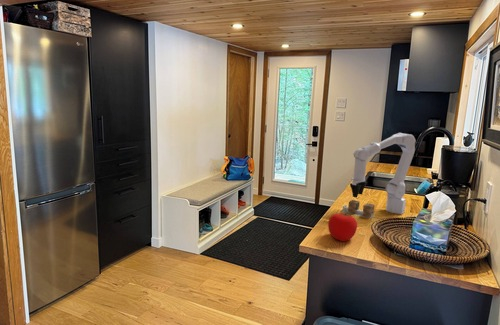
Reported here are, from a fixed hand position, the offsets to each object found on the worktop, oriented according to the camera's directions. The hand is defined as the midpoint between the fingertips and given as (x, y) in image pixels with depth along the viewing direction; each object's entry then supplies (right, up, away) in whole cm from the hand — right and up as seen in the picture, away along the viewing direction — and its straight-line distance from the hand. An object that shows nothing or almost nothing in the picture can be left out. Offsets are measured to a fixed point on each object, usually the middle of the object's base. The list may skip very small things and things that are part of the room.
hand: (357, 195), depth 182 cm
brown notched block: (-2, -9, 0) cm, 9 cm away
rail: (0, -10, -2) cm, 10 cm away
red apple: (-18, -16, -34) cm, 41 cm away
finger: (+4, -10, -5) cm, 12 cm away
